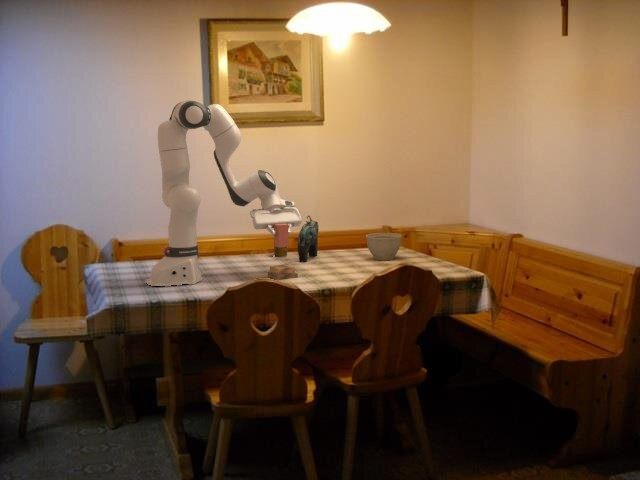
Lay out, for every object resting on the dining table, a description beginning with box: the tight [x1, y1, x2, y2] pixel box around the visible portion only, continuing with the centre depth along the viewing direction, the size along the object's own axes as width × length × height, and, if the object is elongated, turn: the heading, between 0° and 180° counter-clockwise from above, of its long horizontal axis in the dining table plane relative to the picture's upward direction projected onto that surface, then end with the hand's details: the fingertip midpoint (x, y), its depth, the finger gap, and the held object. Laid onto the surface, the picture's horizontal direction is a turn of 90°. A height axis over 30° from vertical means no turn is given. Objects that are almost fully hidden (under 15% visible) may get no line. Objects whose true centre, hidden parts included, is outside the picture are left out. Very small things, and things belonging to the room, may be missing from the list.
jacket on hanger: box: [297, 215, 319, 263], centre depth 353 cm, size 20×6×20 cm, turn 162°
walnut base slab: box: [267, 271, 299, 281], centre depth 313 cm, size 9×9×2 cm
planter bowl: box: [365, 232, 402, 261], centre depth 350 cm, size 16×16×11 cm
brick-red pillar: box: [273, 224, 290, 248], centre depth 310 cm, size 4×4×9 cm
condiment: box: [268, 245, 290, 259], centre depth 362 cm, size 7×8×12 cm
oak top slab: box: [269, 264, 296, 275], centre depth 312 cm, size 8×8×2 cm
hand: (281, 234), depth 310 cm, fingers closed on brick-red pillar, 5 cm apart
